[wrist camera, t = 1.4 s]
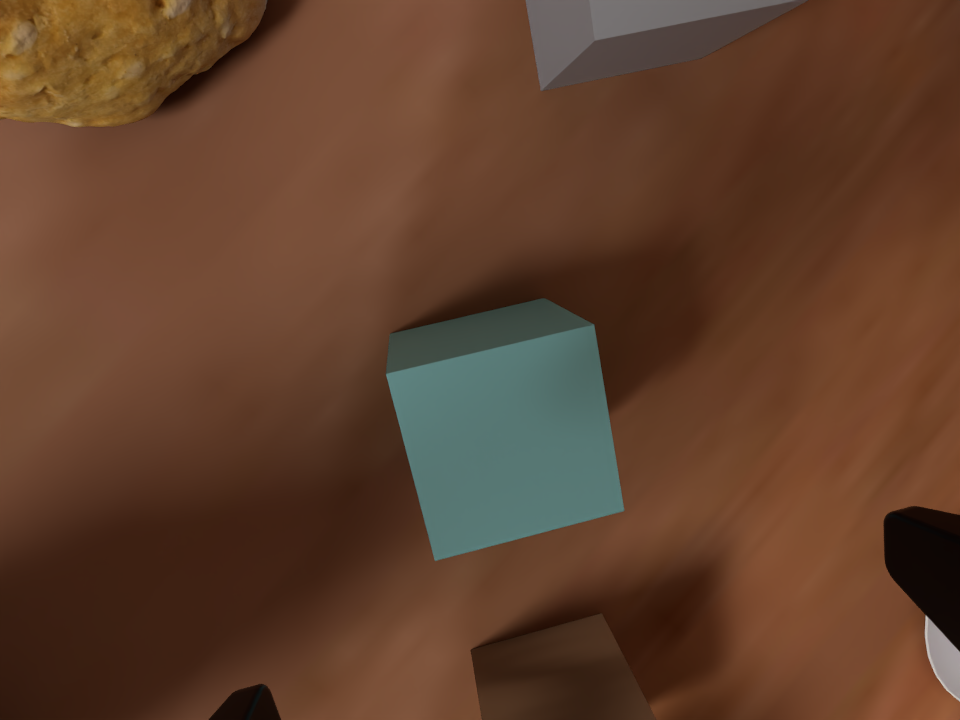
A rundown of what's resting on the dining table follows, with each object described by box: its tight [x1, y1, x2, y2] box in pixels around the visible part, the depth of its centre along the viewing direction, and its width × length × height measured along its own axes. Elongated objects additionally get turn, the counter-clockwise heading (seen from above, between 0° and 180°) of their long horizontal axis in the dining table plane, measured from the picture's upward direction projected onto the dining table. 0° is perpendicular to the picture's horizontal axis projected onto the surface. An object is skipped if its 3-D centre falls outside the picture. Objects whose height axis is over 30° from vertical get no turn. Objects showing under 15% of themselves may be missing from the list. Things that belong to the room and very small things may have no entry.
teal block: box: [386, 298, 624, 561], centre depth 17 cm, size 5×5×5 cm
